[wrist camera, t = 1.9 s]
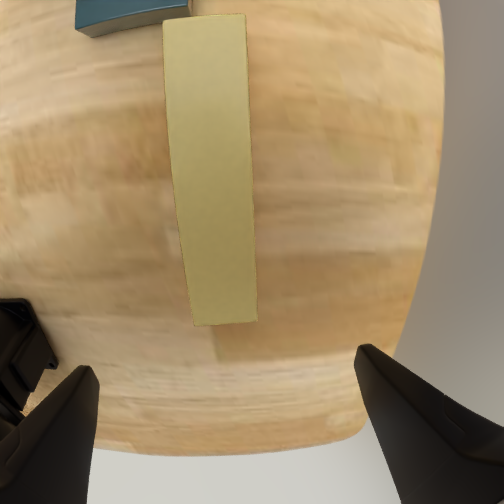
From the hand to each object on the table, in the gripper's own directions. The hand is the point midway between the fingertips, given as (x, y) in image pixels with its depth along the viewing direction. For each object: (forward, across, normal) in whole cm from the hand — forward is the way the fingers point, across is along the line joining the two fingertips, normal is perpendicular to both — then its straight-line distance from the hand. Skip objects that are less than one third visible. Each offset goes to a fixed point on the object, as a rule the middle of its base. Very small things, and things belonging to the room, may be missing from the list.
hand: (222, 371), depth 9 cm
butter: (+9, 0, -5) cm, 10 cm away
